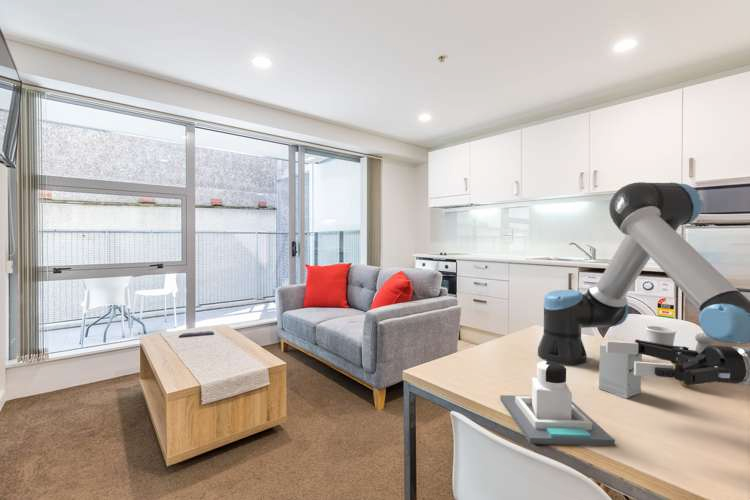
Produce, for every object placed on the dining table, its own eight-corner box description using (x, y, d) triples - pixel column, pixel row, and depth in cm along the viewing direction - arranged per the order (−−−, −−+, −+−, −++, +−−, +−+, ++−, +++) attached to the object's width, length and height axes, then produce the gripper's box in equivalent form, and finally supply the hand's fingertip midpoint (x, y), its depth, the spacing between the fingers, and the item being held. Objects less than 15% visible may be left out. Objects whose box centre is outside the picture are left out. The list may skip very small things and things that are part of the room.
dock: (500, 399, 90) (500, 389, 90) (566, 401, 89) (567, 390, 89) (529, 443, 71) (530, 430, 71) (614, 445, 70) (614, 432, 70)
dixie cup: (672, 355, 123) (673, 327, 122) (677, 362, 116) (678, 333, 115) (643, 351, 127) (644, 324, 127) (646, 358, 120) (647, 330, 120)
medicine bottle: (564, 409, 82) (564, 360, 82) (571, 425, 76) (572, 371, 75) (531, 405, 84) (532, 357, 84) (536, 420, 78) (537, 367, 77)
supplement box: (627, 399, 90) (628, 352, 89) (597, 388, 96) (598, 344, 96) (641, 393, 93) (643, 347, 93) (612, 383, 100) (613, 340, 99)
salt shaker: (722, 381, 101) (724, 337, 100) (699, 379, 102) (701, 336, 101) (707, 373, 107) (709, 332, 106) (686, 372, 108) (687, 331, 107)
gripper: (788, 412, 60) (649, 399, 65) (693, 360, 85) (597, 353, 90) (791, 371, 60) (650, 360, 65) (695, 330, 84) (598, 325, 89)
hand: (619, 356), depth 77 cm, fingers open, 13 cm apart
